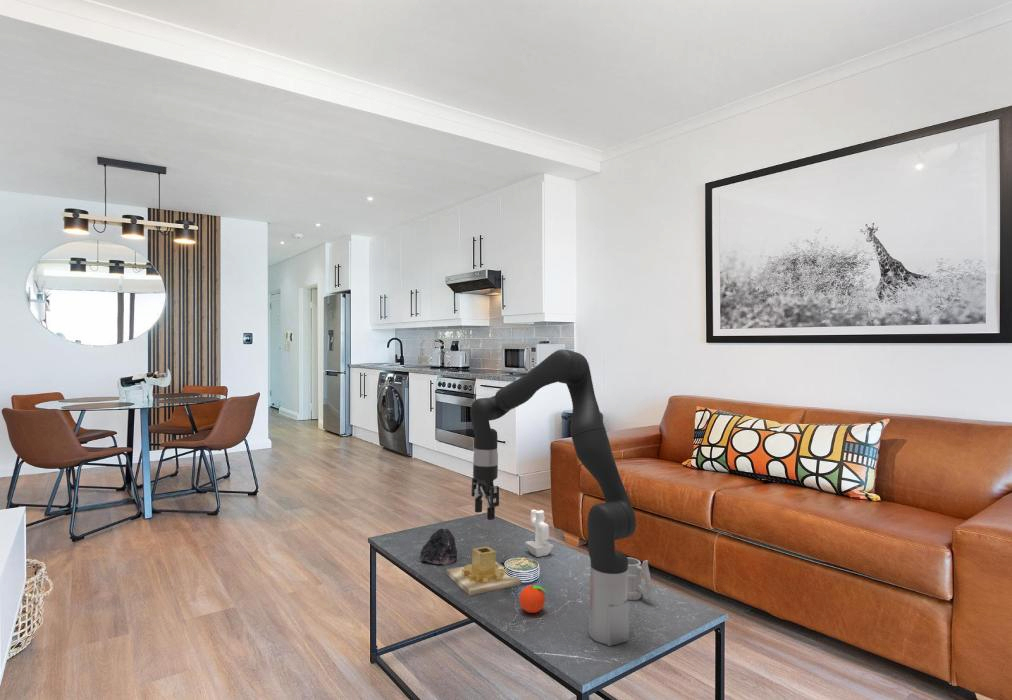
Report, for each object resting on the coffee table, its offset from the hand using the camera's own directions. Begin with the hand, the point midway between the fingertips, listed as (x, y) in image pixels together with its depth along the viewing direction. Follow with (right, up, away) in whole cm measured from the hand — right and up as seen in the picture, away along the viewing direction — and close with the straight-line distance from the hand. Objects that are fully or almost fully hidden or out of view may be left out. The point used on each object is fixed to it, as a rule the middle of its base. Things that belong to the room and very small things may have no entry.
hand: (484, 515), depth 175 cm
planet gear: (0, -18, 0) cm, 18 cm away
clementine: (+14, -20, -20) cm, 32 cm away
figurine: (+18, -20, +23) cm, 35 cm away
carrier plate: (0, -20, 0) cm, 20 cm away
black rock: (-16, -20, +17) cm, 30 cm away
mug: (+44, -21, -10) cm, 49 cm away
